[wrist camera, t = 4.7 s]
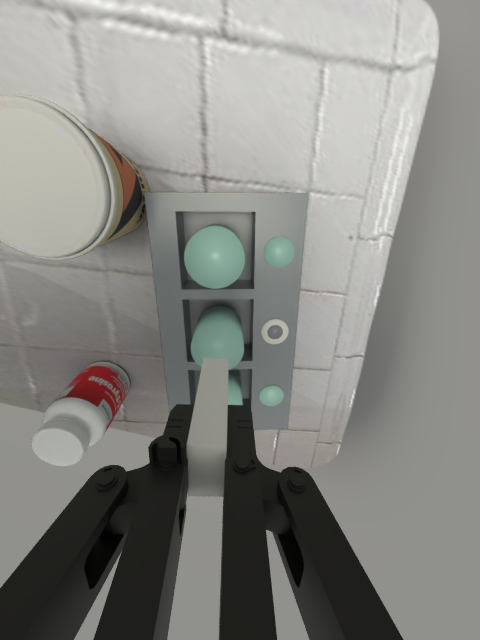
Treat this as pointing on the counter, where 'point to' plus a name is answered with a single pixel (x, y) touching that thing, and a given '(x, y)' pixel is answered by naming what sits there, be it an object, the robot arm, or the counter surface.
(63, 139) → the coffee cup
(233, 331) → the button
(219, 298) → the board
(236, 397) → the button
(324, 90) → the counter surface
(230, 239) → the button
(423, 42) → the counter surface
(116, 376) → the pill bottle
